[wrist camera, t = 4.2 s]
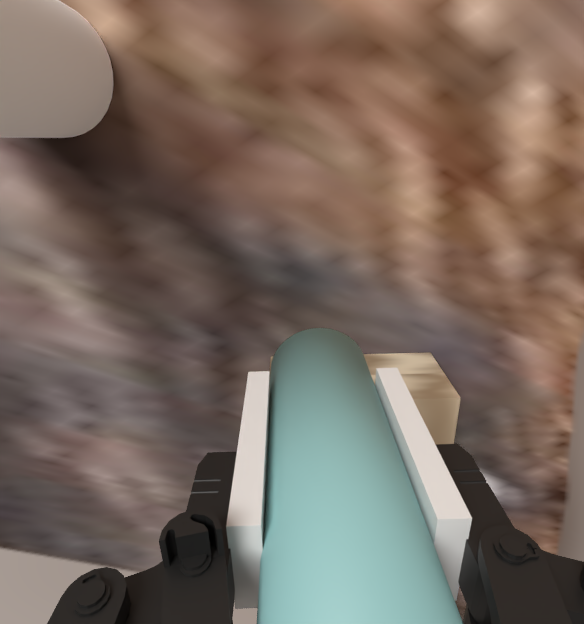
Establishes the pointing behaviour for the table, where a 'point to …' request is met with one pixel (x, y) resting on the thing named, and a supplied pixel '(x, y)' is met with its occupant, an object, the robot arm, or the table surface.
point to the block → (423, 390)
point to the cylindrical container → (50, 71)
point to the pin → (341, 499)
